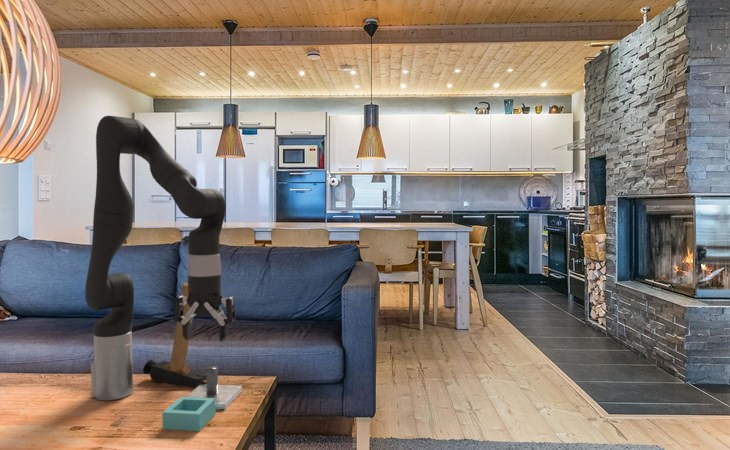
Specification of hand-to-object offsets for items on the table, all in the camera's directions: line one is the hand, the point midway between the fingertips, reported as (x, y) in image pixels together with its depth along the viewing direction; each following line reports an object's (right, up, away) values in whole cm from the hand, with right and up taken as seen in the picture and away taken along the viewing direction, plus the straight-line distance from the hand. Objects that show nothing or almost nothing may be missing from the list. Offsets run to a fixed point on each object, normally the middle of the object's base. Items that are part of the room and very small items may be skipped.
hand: (205, 339), depth 116 cm
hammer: (-17, -19, +26) cm, 36 cm away
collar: (-4, -20, +1) cm, 20 cm away
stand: (-3, -19, +14) cm, 24 cm away
